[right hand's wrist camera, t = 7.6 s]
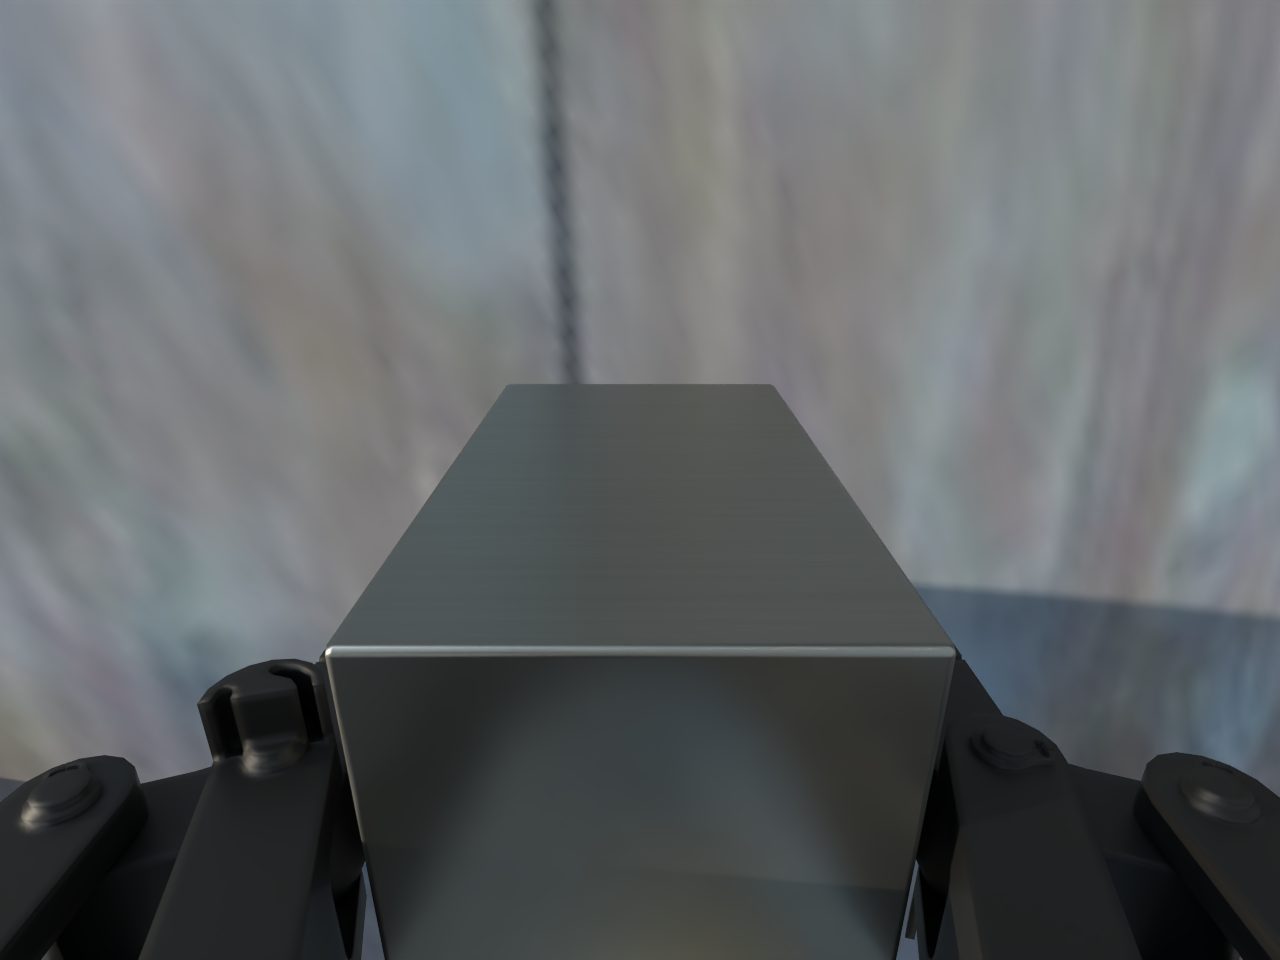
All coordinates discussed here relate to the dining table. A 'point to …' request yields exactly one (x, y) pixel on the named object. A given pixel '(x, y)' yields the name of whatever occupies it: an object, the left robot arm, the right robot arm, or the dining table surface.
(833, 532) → the bar
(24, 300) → the dining table surface
